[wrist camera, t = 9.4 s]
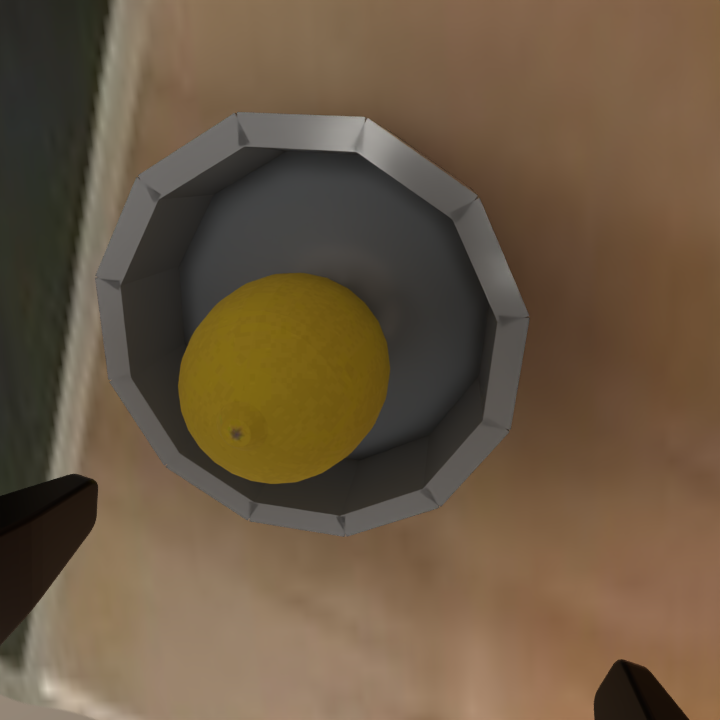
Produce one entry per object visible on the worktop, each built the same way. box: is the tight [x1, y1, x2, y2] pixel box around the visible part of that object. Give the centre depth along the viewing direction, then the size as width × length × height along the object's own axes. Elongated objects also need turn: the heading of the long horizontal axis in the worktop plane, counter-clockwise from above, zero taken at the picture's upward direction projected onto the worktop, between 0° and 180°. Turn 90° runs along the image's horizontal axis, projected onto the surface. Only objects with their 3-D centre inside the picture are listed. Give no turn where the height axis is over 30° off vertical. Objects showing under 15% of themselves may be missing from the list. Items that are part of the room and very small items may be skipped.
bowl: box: [95, 112, 530, 537], centre depth 17 cm, size 13×13×4 cm
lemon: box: [178, 273, 390, 484], centre depth 15 cm, size 6×6×8 cm
